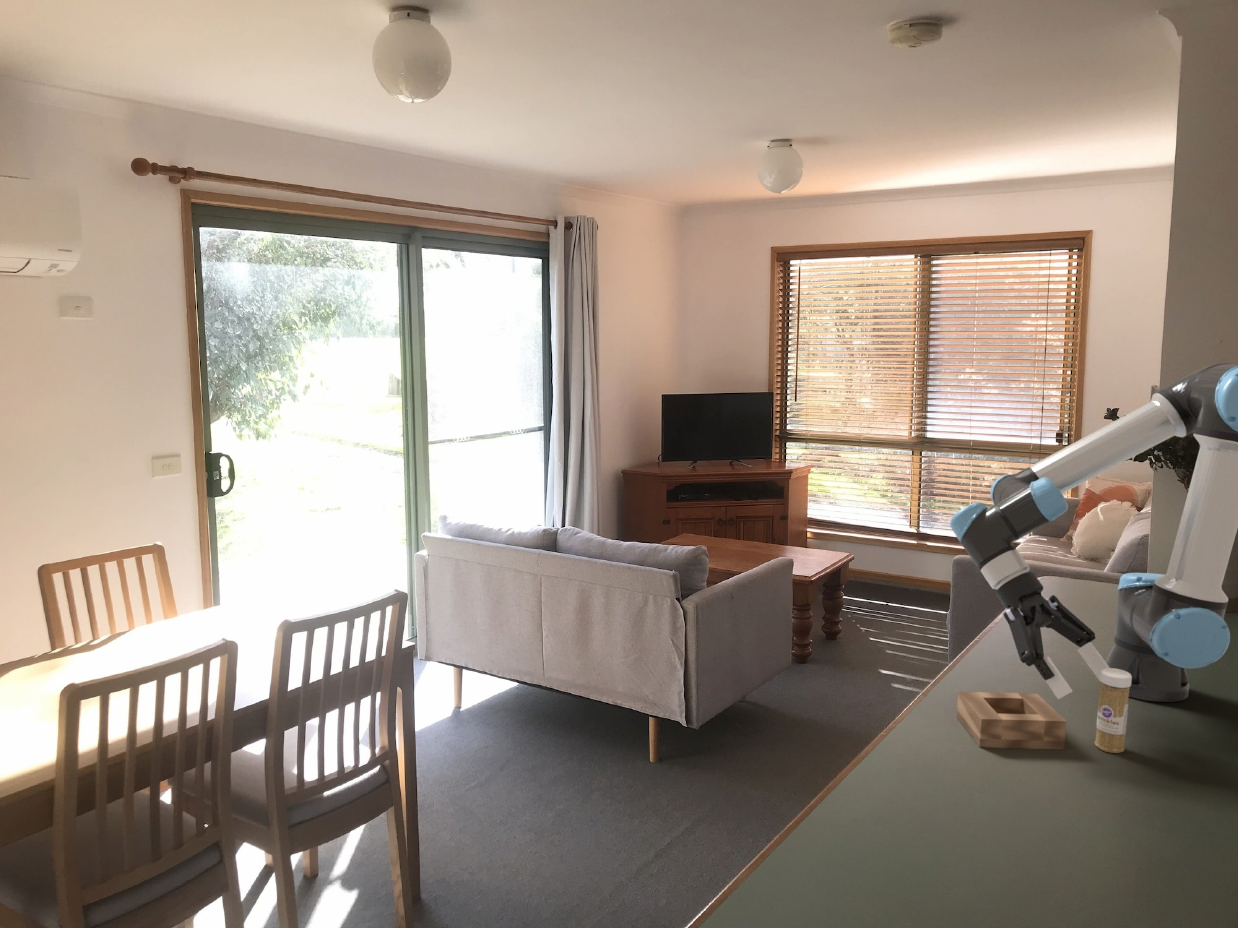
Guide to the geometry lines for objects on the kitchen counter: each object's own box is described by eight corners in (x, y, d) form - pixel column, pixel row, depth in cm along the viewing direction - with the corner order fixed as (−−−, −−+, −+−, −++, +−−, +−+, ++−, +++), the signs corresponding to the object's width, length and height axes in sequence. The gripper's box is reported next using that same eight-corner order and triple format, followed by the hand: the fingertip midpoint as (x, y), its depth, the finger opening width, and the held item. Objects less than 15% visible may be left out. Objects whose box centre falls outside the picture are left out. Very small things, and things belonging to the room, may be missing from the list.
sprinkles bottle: (1091, 748, 154) (1097, 672, 153) (1098, 739, 158) (1104, 664, 156) (1121, 756, 152) (1128, 678, 150) (1127, 747, 155) (1134, 671, 153)
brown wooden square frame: (1034, 719, 166) (1036, 693, 165) (1063, 749, 154) (1066, 721, 153) (956, 717, 166) (958, 691, 166) (979, 747, 155) (981, 718, 154)
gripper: (1036, 581, 176) (1107, 681, 166) (957, 602, 161) (1030, 712, 151) (1065, 560, 171) (1140, 662, 161) (986, 579, 156) (1063, 692, 146)
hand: (1087, 686), depth 156 cm, fingers open, 13 cm apart
